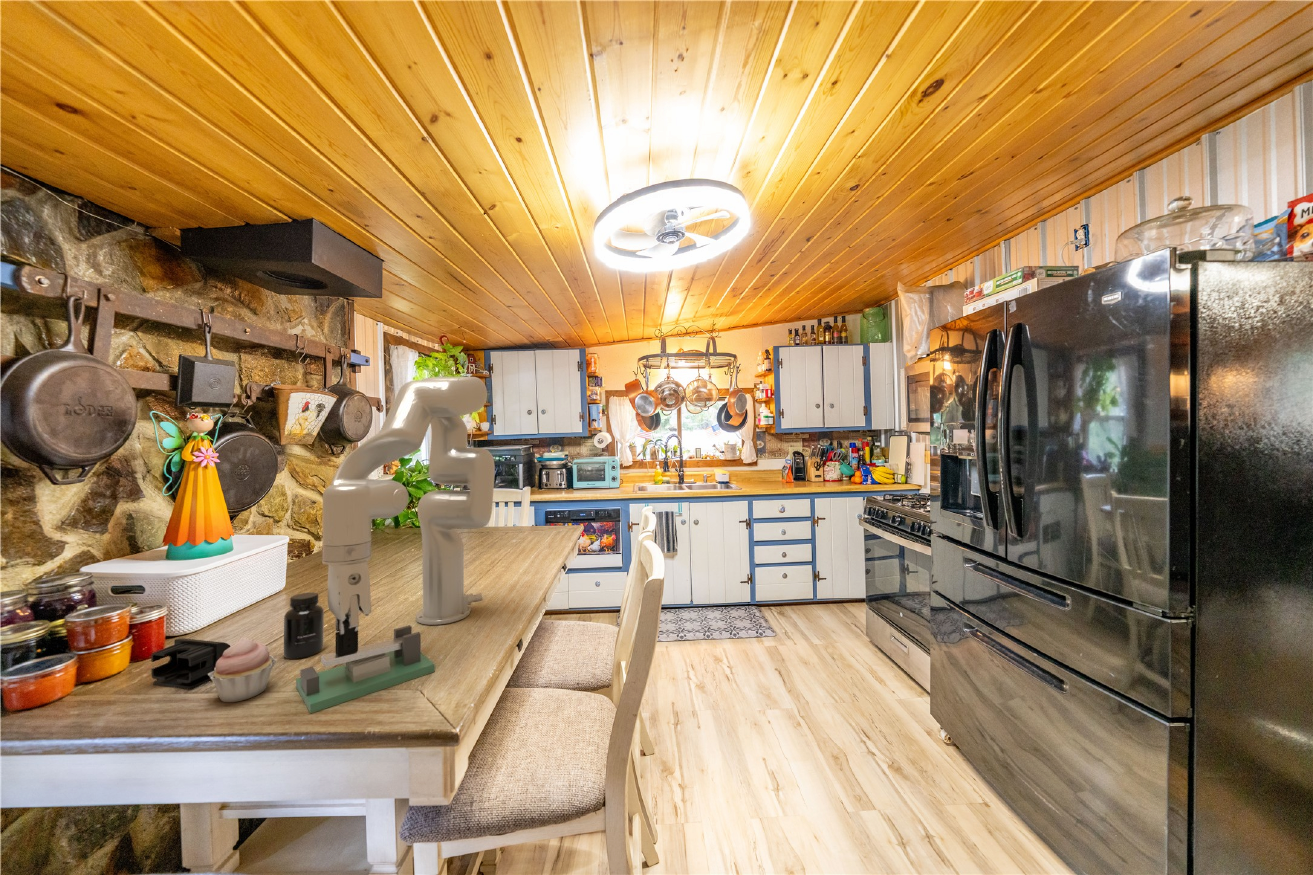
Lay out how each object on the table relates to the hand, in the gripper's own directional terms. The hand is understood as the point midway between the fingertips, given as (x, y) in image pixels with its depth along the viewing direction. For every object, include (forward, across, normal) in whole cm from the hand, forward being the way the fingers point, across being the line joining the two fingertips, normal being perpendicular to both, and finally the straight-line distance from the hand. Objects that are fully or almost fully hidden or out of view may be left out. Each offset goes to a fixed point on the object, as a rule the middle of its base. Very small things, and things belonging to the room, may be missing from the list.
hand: (346, 653), depth 90 cm
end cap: (+6, +24, +20) cm, 32 cm away
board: (+6, 0, -4) cm, 7 cm away
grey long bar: (+2, 0, -4) cm, 4 cm away
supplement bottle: (+6, +22, +2) cm, 23 cm away
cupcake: (+6, +10, +14) cm, 18 cm away
